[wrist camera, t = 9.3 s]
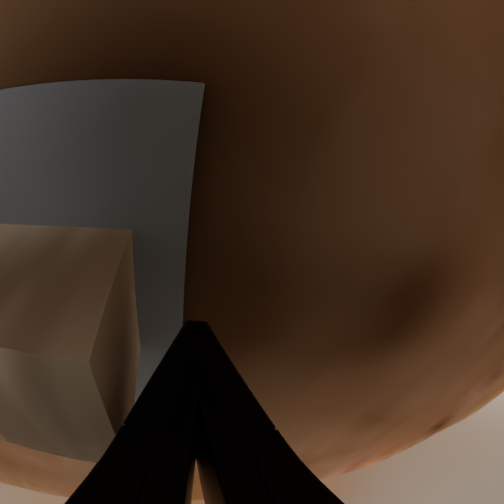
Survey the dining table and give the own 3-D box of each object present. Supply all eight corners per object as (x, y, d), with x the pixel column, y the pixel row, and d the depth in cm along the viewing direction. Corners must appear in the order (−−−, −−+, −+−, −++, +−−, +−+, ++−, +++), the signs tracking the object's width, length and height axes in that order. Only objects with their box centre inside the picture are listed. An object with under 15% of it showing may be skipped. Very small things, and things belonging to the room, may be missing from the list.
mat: (204, 83, 6) (204, 83, 6) (181, 401, 11) (181, 409, 11) (-94, 115, 4) (-102, 118, 4) (-24, 368, 9) (-27, 374, 9)
